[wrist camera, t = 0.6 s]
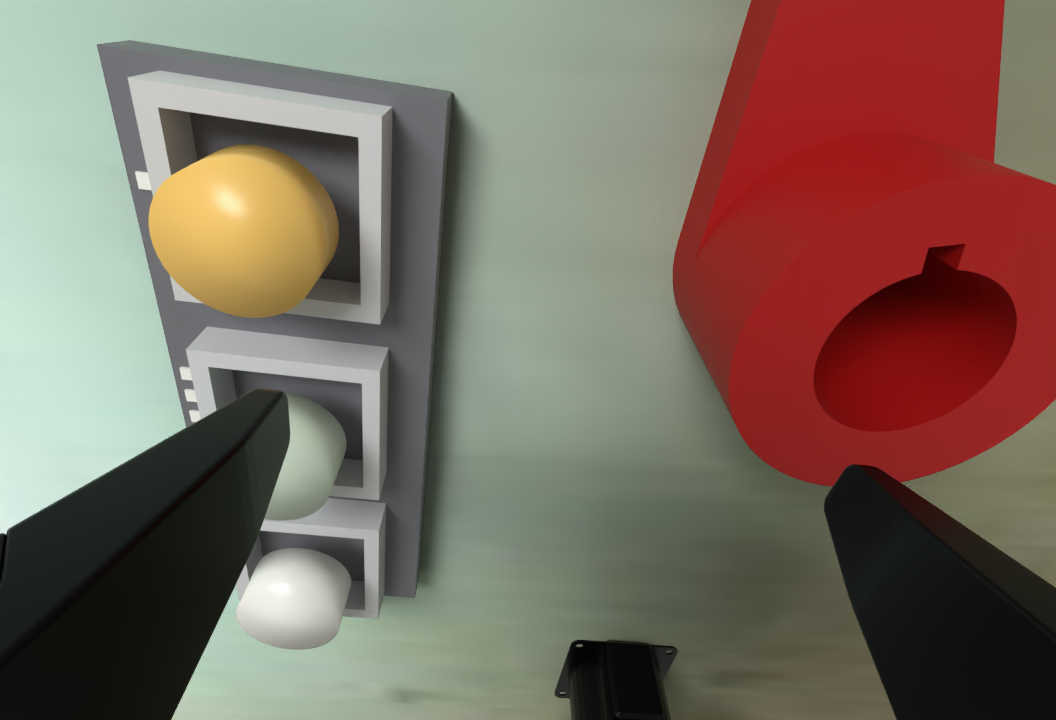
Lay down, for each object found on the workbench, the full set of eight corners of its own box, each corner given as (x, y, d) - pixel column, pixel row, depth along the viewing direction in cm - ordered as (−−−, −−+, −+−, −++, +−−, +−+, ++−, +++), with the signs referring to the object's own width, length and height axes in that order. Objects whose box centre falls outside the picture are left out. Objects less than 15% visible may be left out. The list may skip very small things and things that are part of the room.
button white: (352, 609, 25) (340, 652, 24) (260, 602, 25) (242, 646, 23) (350, 552, 23) (337, 595, 22) (250, 544, 23) (229, 587, 21)
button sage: (347, 483, 21) (333, 525, 19) (237, 473, 21) (212, 515, 19) (345, 399, 19) (328, 438, 17) (222, 385, 19) (192, 424, 17)
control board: (419, 571, 29) (410, 625, 27) (236, 557, 28) (208, 611, 26) (452, 91, 17) (440, 108, 14) (129, 40, 16) (57, 49, 14)
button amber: (341, 293, 17) (321, 326, 15) (202, 276, 16) (166, 308, 15) (336, 157, 15) (313, 177, 13) (176, 133, 14) (131, 151, 13)
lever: (904, 354, 23) (1031, 472, 17) (668, 377, 23) (716, 500, 17) (1105, -311, 13) (1558, -546, 7) (687, -247, 13) (810, -420, 8)
